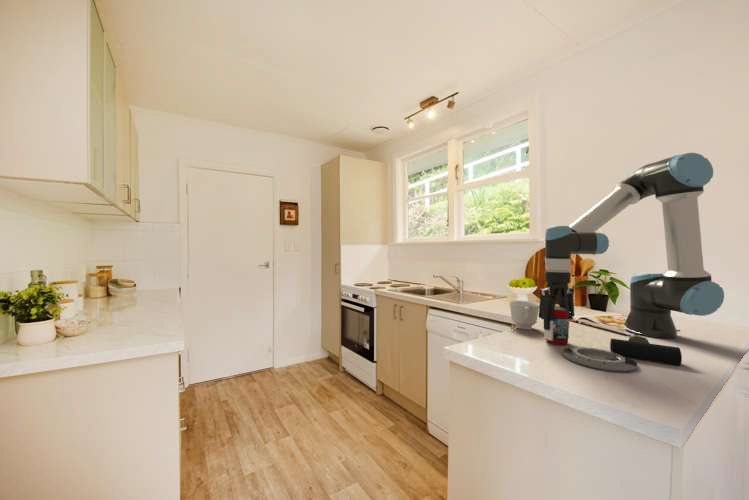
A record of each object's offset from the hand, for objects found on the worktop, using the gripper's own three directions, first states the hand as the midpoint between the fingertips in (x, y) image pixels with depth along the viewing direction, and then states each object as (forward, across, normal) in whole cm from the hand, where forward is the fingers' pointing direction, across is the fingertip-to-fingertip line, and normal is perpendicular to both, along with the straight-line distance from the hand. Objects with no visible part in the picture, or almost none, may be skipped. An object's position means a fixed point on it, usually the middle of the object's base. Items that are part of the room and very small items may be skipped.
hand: (556, 338), depth 103 cm
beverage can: (+2, 0, 0) cm, 2 cm away
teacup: (+2, -5, -18) cm, 18 cm away
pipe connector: (+2, -13, +18) cm, 22 cm away
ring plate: (+2, +4, +16) cm, 17 cm away
